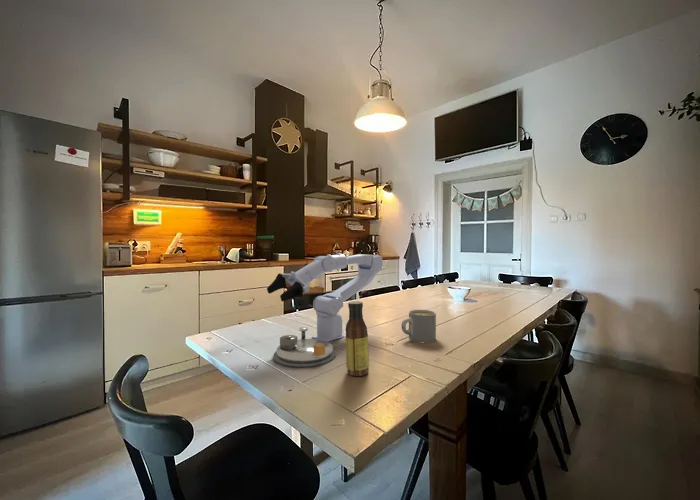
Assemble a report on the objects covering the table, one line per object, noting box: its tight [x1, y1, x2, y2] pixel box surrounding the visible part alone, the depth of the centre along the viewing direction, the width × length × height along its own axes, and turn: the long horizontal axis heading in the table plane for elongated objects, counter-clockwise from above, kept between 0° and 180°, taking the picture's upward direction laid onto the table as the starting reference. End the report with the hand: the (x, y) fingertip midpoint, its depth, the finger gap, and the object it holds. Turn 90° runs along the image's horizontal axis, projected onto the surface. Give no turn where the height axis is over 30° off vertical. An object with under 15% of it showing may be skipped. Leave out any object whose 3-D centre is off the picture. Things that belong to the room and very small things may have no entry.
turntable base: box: [273, 347, 337, 369], centre depth 100 cm, size 20×20×1 cm
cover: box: [279, 334, 298, 351], centre depth 100 cm, size 6×6×4 cm
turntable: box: [276, 338, 334, 363], centre depth 100 cm, size 18×18×4 cm
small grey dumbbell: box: [298, 326, 308, 339], centre depth 112 cm, size 3×3×5 cm
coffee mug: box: [401, 309, 437, 343], centre depth 116 cm, size 13×10×10 cm
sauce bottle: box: [345, 300, 370, 377], centre depth 86 cm, size 6×6×20 cm
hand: (274, 294), depth 102 cm, fingers open, 7 cm apart
